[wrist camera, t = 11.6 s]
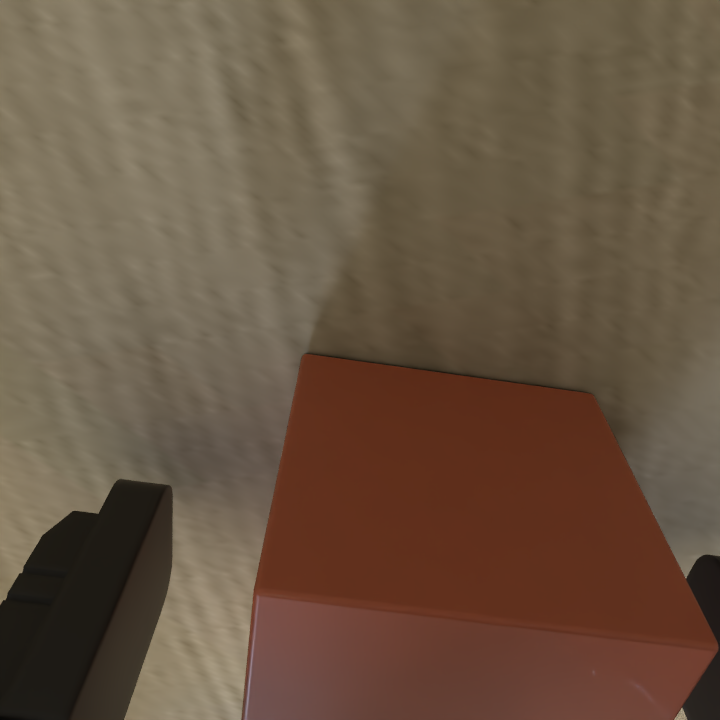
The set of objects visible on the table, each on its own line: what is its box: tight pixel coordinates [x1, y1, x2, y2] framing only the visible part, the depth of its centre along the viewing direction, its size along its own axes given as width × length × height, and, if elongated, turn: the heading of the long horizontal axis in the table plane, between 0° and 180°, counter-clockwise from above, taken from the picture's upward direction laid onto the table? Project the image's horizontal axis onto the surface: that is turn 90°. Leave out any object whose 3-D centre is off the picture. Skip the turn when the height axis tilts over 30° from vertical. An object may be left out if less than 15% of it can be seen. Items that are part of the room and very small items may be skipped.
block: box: [241, 354, 719, 720], centre depth 9 cm, size 4×4×4 cm
